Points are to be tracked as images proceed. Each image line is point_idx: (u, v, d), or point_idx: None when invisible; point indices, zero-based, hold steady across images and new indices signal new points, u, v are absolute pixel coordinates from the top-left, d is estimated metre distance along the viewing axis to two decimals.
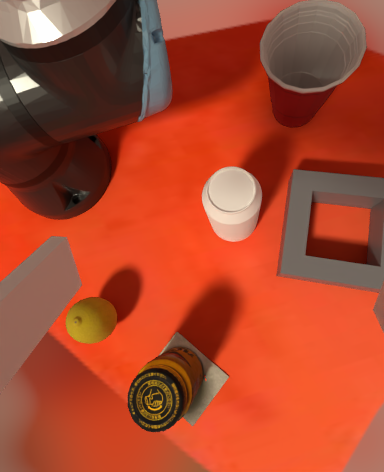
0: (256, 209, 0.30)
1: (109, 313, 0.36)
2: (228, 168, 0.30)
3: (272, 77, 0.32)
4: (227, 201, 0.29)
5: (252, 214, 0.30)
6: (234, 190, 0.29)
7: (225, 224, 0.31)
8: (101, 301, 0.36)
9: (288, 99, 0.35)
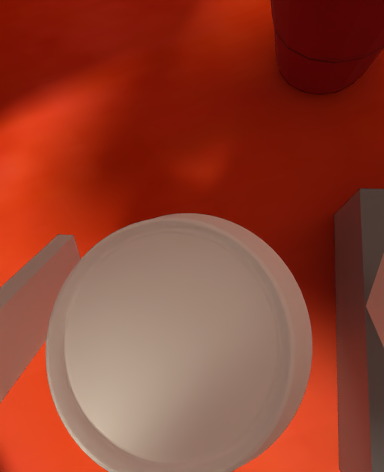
0: (296, 405, 0.06)
1: None
2: (147, 227, 0.06)
3: None
4: (150, 403, 0.06)
5: (281, 432, 0.06)
6: (183, 340, 0.06)
7: None
8: None
9: None
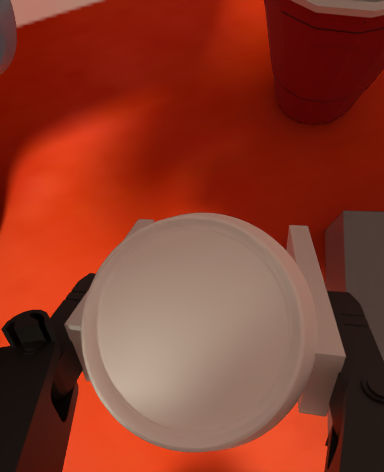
0: (303, 386, 0.07)
1: None
2: (173, 223, 0.07)
3: None
4: (175, 378, 0.06)
5: (288, 409, 0.07)
6: (204, 324, 0.07)
7: None
8: None
9: (318, 55, 0.15)
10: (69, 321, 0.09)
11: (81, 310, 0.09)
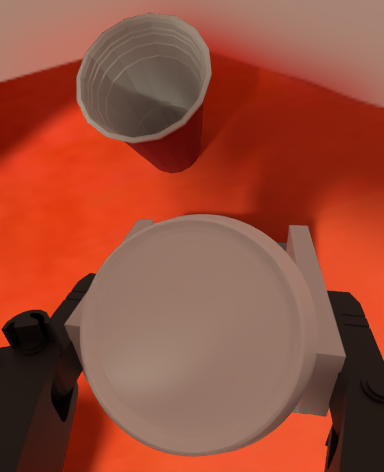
0: (303, 388, 0.07)
1: None
2: (172, 225, 0.07)
3: (92, 124, 0.23)
4: (174, 381, 0.06)
5: (289, 413, 0.07)
6: (204, 326, 0.07)
7: None
8: None
9: (135, 147, 0.26)
10: (69, 321, 0.09)
11: (81, 310, 0.09)
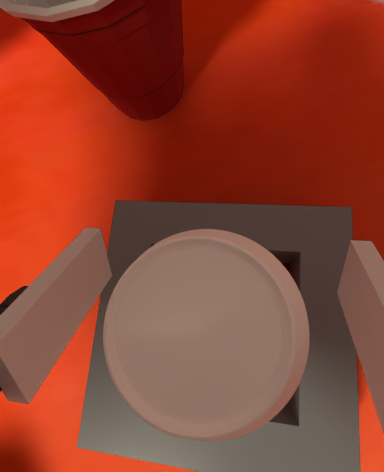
0: (296, 384, 0.08)
1: None
2: (181, 242, 0.08)
3: None
4: (184, 378, 0.07)
5: (283, 405, 0.08)
6: (210, 331, 0.08)
7: None
8: None
9: (73, 55, 0.16)
10: None
11: None
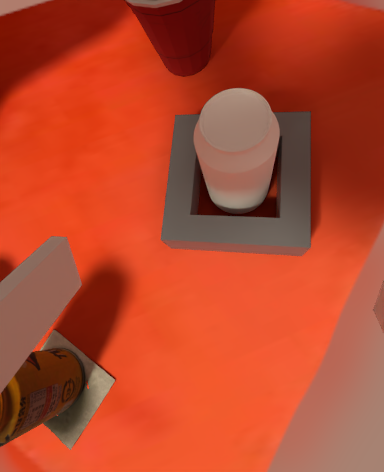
0: (273, 147, 0.21)
1: None
2: (228, 91, 0.21)
3: None
4: (231, 136, 0.20)
5: (268, 155, 0.21)
6: (240, 120, 0.20)
7: (230, 174, 0.21)
8: None
9: (154, 28, 0.29)
10: None
11: None
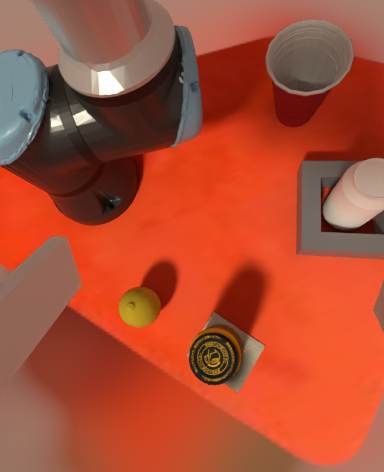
0: None
1: (155, 298, 0.41)
2: (370, 160, 0.33)
3: (279, 85, 0.38)
4: (375, 188, 0.33)
5: None
6: (380, 179, 0.33)
7: (369, 210, 0.34)
8: (147, 289, 0.41)
9: (292, 102, 0.42)
10: None
11: None
